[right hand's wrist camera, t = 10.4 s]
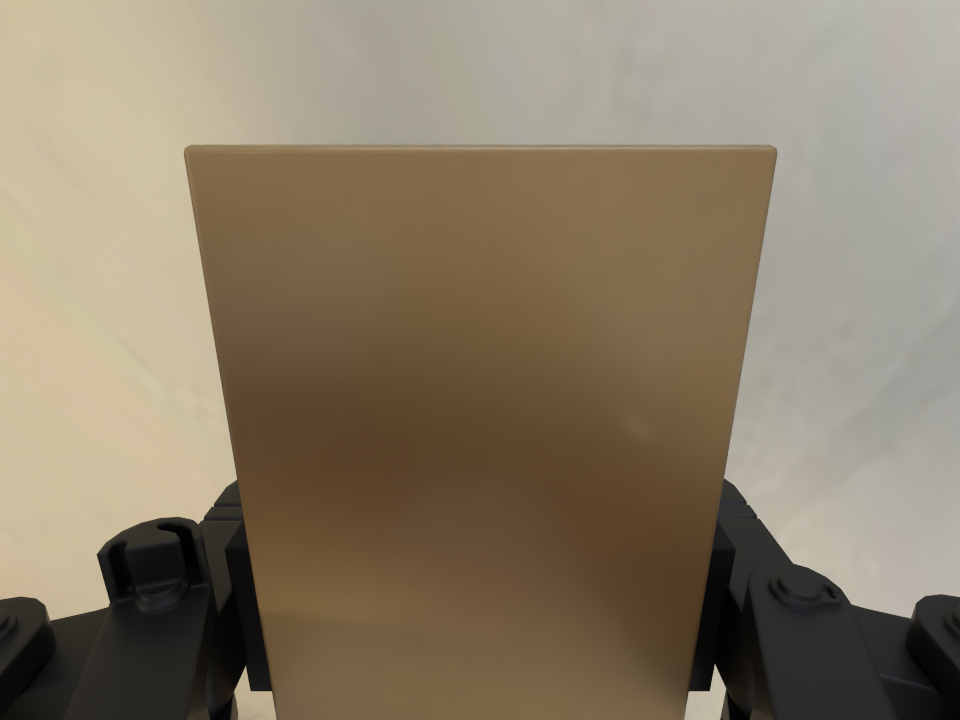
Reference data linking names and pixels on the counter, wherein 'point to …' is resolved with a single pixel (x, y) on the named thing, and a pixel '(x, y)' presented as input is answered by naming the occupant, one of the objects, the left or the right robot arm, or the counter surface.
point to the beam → (480, 414)
